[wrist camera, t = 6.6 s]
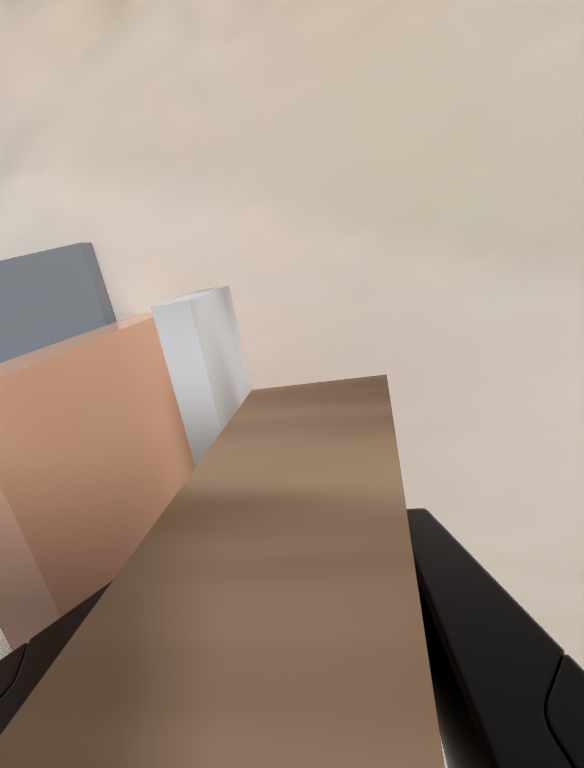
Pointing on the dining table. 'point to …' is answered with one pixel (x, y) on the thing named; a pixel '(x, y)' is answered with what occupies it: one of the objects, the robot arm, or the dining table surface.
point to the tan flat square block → (82, 467)
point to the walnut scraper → (252, 589)
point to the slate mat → (50, 299)
